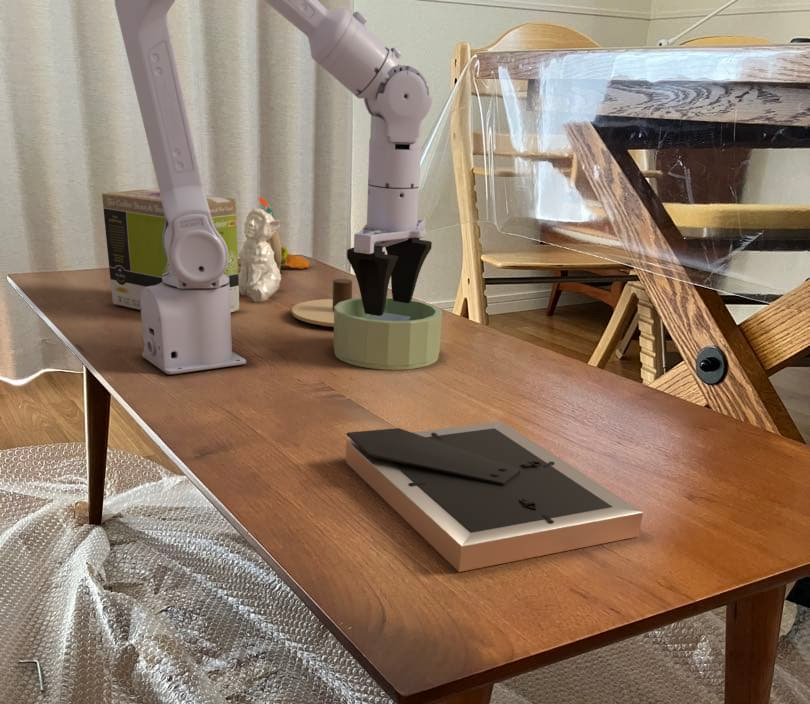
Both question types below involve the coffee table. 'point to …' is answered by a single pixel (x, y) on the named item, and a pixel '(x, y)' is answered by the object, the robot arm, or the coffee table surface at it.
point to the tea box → (154, 242)
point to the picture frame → (488, 493)
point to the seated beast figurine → (259, 257)
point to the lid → (324, 305)
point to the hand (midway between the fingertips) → (388, 307)
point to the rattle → (281, 252)
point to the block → (390, 317)
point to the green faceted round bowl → (387, 335)
